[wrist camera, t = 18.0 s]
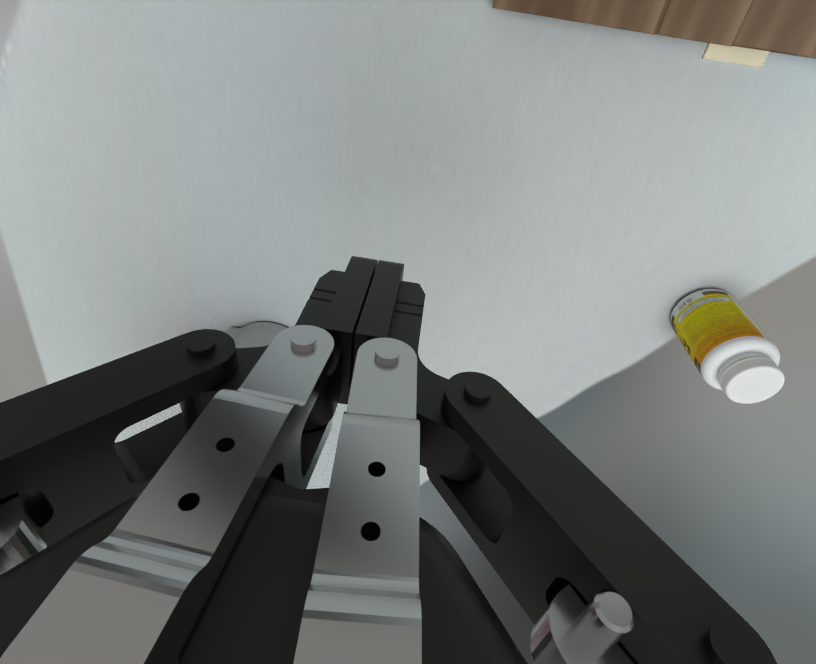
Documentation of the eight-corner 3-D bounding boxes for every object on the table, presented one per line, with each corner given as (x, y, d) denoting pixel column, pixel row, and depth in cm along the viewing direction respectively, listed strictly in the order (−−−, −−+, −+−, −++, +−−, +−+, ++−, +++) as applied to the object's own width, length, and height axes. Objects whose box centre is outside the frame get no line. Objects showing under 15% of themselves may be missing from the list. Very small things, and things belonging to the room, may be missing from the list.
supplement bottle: (655, 315, 43) (698, 389, 35) (708, 275, 40) (769, 346, 32) (692, 343, 45) (743, 421, 37) (746, 307, 42) (814, 382, 34)
